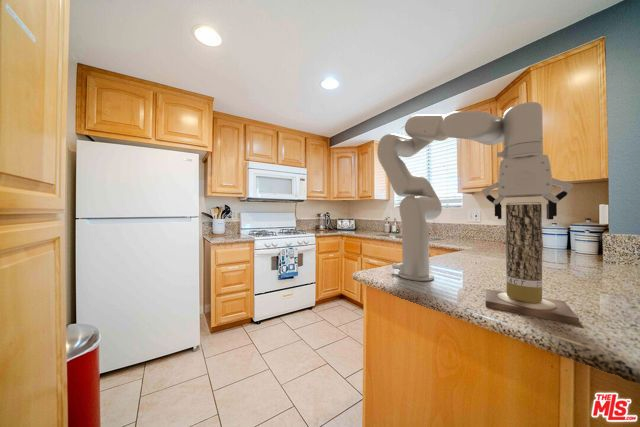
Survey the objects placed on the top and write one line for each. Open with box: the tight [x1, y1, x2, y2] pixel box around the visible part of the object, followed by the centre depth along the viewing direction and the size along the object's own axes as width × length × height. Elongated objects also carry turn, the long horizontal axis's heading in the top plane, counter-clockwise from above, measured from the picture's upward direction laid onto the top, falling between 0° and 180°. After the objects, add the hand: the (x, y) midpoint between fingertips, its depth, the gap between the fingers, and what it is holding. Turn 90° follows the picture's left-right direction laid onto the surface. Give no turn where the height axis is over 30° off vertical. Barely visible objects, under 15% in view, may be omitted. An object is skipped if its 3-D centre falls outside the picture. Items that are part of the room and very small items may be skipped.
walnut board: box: [485, 288, 580, 326], centre depth 57 cm, size 16×12×2 cm
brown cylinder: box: [505, 201, 543, 303], centre depth 57 cm, size 7×7×25 cm
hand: (523, 219), depth 57 cm, fingers open, 9 cm apart
